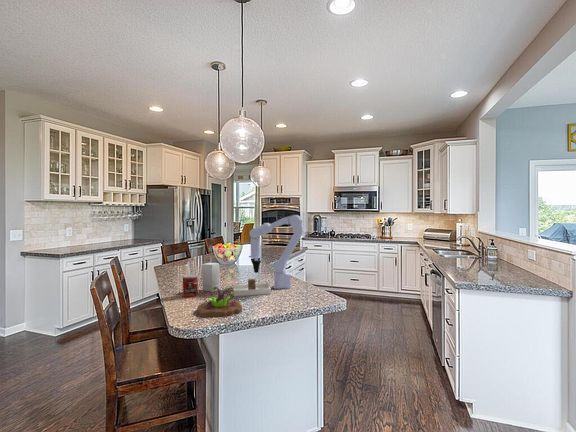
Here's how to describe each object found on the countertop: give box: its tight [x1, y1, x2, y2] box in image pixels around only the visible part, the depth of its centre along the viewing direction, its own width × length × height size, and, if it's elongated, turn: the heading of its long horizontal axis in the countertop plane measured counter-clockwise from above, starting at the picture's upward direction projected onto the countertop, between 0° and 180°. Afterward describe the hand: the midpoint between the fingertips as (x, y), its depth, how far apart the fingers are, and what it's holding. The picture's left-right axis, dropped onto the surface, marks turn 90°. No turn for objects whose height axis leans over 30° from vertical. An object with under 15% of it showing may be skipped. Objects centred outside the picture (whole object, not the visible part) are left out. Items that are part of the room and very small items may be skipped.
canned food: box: [182, 273, 199, 299], centre depth 169 cm, size 8×8×11 cm
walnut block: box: [247, 278, 256, 290], centre depth 175 cm, size 4×4×6 cm
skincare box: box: [201, 262, 221, 293], centre depth 180 cm, size 8×7×16 cm
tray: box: [232, 282, 272, 297], centre depth 175 cm, size 20×14×3 cm
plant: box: [196, 287, 243, 318], centre depth 143 cm, size 20×20×11 cm
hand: (256, 271), depth 186 cm, fingers open, 7 cm apart
